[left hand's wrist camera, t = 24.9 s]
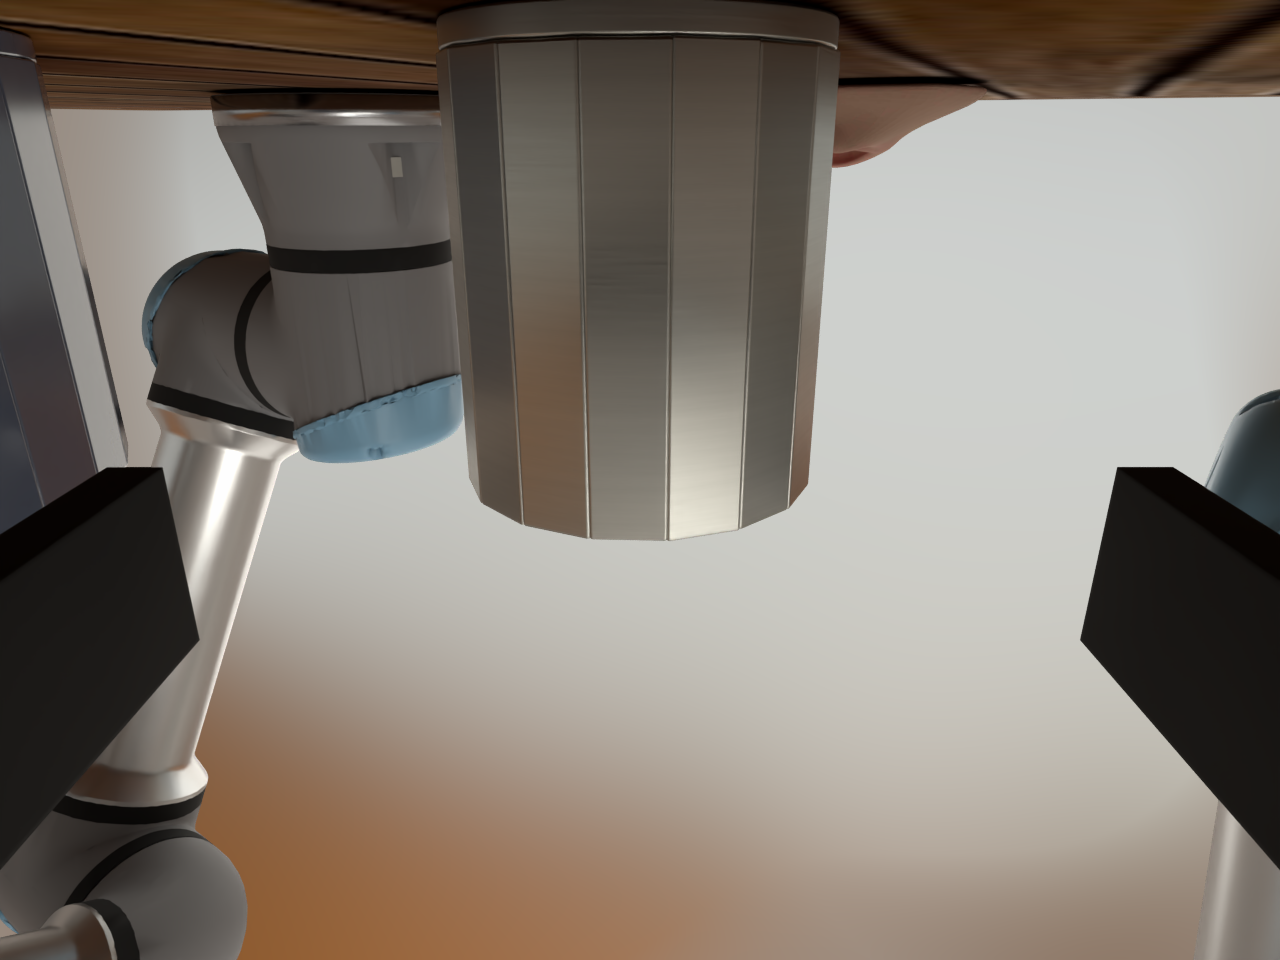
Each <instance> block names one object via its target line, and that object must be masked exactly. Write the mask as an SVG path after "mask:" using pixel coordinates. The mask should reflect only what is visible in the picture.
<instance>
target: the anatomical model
mask: <svg viewBox="0 0 1280 960" xmlns="http://www.w3.org/2000/svg"><path fill="white" fill-rule="evenodd" d="M986 91H987V90H986V89H985V88H983V87H977V86H969V85H957V84H864V85H838V91H837V104H836V118H835V131H834V144H833V158H832V168H838V167H846V166H850V165H854V164H858V163H860V162H863V161H866V160H868V159H871V158H873V157H875V156H877V155H879V154H881V153H883V152H885V151H887V150H888V149H890V148H891V147H892V146H893V145H895V144H896V143H897V142H898V141H899V140H900V139H901V138H902V137H904V136H905V135H907V134H908V133H910V132H911V131H913V130H915V129H917V128H919V127H921V126H923V125H925V124H927V123H929V122H932V121H934V120H936V119H939V118H941V117H943V116H946V115H948V114H950V113H953V112H955V111H957V110H960V109H962V108H964V107H967V106H969V105H971V104H972V103H974V102H976V101H977V100H979V99H980V98H982V97H983V96H984V95H985V93H986Z"/></svg>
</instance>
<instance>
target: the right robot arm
mask: <svg viewBox="0 0 1280 960" xmlns="http://www.w3.org/2000/svg"><path fill="white" fill-rule="evenodd" d="M210 101H211V107H212V113H213V119H214V125H215V126H216V129H217V132H218V135H219V137H220V139H221V141H222V143H223V145H224V148H225V150H226V152H227V154H228V156H229V158H230V160H231V162H232V164H233V166H234V168H235V170H236V172H237V174H238V176H239V178H240V180H241V182H242V184H243V186H244V188H245V190H246V192H247V194H248V196H249V198H250V200H251V202H252V204H253V206H254V209H255V210H256V213H257V215H258V217H259V219H260V221H261V223H262V226H263V229H264V233H265V239H266V243H267V244H266V245H267V251H268V254H266V253H264V252H262V251H257V250H249V249H230V250H224V251H208V252H203V253H199V254H196V255H193V256H191V257H189V258H186V259H184V260H182V261H180V262H178V263H177V264H175V265H174V266H173V267H171V268H170V269H169V270H168V271H167V272H166V273H165V274H163V276H162V277H161V278H160V279H159V280H158V281H157V283H156V284H155V286H154V287H153V289H152V290H151V292H150V294H149V296H148V298H147V301H146V304H145V307H144V311H143V317H142V335H143V340H144V344H145V347H146V348H147V349H148V351H149V353H150V356H151V360H152V362H153V364H154V365H155V367H156V371H155V374H154V378H153V381H152V384H151V388H150V391H149V394H148V398H147V403H146V404H147V406H148V408H149V409H150V411H151V412H152V414H153V415H154V417H155V418H156V420H157V422H158V423H159V425H160V429H161V436H160V439H159V442H158V445H157V449H156V452H155V455H154V459H153V462H152V465H151V467H163V471H164V476H165V480H166V485H167V490H168V494H169V499H170V504H171V508H172V513H173V518H174V522H175V527H176V532H177V536H178V541H179V546H180V550H181V555H182V560H183V564H184V569H185V574H186V578H187V583H188V587H189V592H190V597H191V601H192V606H193V611H194V615H195V620H196V625H197V629H198V634H199V639H200V640H199V642H198V643H197V644H196V645H195V646H194V647H193V648H192V650H191V651H190V652H189V653H188V654H187V655H186V657H185V658H184V659H183V660H182V661H181V662H180V663H179V665H178V666H177V667H176V668H175V669H174V670H173V672H172V673H171V674H170V675H169V676H168V677H167V678H166V680H165V681H164V682H163V683H162V684H161V685H160V687H159V688H158V689H157V690H156V691H155V692H154V693H153V695H152V696H151V697H150V698H149V699H148V700H147V702H146V703H145V704H144V705H143V706H142V707H141V708H140V710H139V711H138V712H137V713H136V714H135V715H134V717H133V718H132V719H131V720H130V721H129V722H128V723H127V725H126V726H125V727H124V728H123V729H122V730H121V732H120V733H119V734H118V735H117V736H116V737H115V738H114V740H113V741H112V742H111V743H110V744H109V745H108V747H107V748H106V749H105V750H104V751H103V752H102V753H101V755H100V756H99V757H98V758H97V759H96V760H95V762H94V763H93V764H92V765H91V766H90V767H89V768H88V770H87V771H86V772H85V773H84V774H83V775H82V777H81V778H80V779H79V780H78V781H77V782H76V783H75V785H74V786H73V787H72V788H71V789H70V790H69V792H68V793H67V794H66V795H65V796H64V797H63V798H62V800H61V801H60V802H59V803H58V804H57V805H56V807H55V808H54V809H53V810H52V811H51V812H50V813H49V815H48V816H47V817H46V818H45V819H44V820H43V822H42V823H41V824H40V825H39V826H38V827H37V828H36V830H35V831H34V832H33V833H32V834H31V835H30V837H29V838H28V839H27V840H26V841H25V842H24V843H23V845H22V846H21V847H20V848H19V849H18V850H17V851H16V853H15V854H14V855H13V856H12V857H11V858H10V860H9V861H8V862H7V863H6V864H5V865H4V866H3V868H2V869H1V870H0V919H1V920H2V921H3V923H4V924H5V925H7V926H8V927H9V928H10V929H11V930H12V931H14V932H16V933H18V934H15V935H10V936H6V937H1V938H0V960H237V958H238V955H239V953H240V950H241V947H242V943H243V939H244V935H245V931H246V923H247V900H246V894H245V889H244V885H243V883H242V880H241V878H240V875H239V873H238V871H237V870H236V868H235V867H234V865H233V864H232V862H231V861H230V859H229V858H228V857H227V856H226V855H224V854H223V853H222V852H221V851H220V850H219V849H218V848H217V847H215V846H214V845H213V844H212V843H210V842H209V841H208V840H207V839H206V838H204V837H203V836H202V835H201V834H199V833H198V832H197V831H196V830H195V823H196V819H197V816H198V812H199V809H200V806H201V802H202V798H203V795H204V792H205V788H206V785H207V781H208V775H207V772H206V770H205V769H204V767H203V766H202V765H201V763H200V762H199V761H198V759H197V758H196V756H195V754H194V753H195V749H196V746H197V742H198V739H199V736H200V732H201V729H202V726H203V722H204V719H205V716H206V712H207V709H208V706H209V702H210V699H211V695H212V692H213V689H214V685H215V682H216V679H217V675H218V672H219V669H220V665H221V662H222V658H223V655H224V652H225V648H226V645H227V642H228V638H229V635H230V632H231V628H232V625H233V622H234V618H235V615H236V612H237V608H238V605H239V601H240V598H241V595H242V591H243V588H244V584H245V581H246V578H247V575H248V571H249V568H250V564H251V561H252V558H253V554H254V551H255V548H256V544H257V541H258V538H259V534H260V531H261V527H262V524H263V521H264V518H265V514H266V511H267V507H268V504H269V501H270V497H271V494H272V491H273V487H274V484H275V481H276V477H277V474H278V471H279V467H280V464H281V462H282V461H283V460H284V459H285V458H287V457H289V456H290V455H292V454H294V453H296V452H298V451H300V452H301V454H302V455H303V456H304V457H306V458H308V459H310V460H313V461H317V462H325V463H352V462H363V461H371V460H378V459H383V458H389V457H394V456H399V455H403V454H407V453H411V452H414V451H417V450H421V449H424V448H427V447H429V446H432V445H434V444H437V443H439V442H441V441H443V440H445V439H446V438H448V437H450V436H451V435H452V434H453V433H454V432H455V431H456V430H457V429H458V428H459V426H460V425H461V422H462V420H463V415H464V405H463V392H462V380H461V367H460V354H459V342H458V329H457V317H456V304H455V291H454V279H453V266H452V254H451V241H450V228H449V216H448V203H447V191H446V178H445V165H444V153H443V140H442V128H441V115H440V102H439V95H420V94H381V93H244V94H220V95H212V96H210Z"/></svg>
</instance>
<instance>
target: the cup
mask: <svg viewBox="0 0 1280 960" xmlns="http://www.w3.org/2000/svg"><path fill="white" fill-rule="evenodd" d="M436 23H437V36H438V48H439V50H440V51H439V52H438V53H436V65H437V77H438V90H439V102H440V115H441V128H442V140H443V153H444V165H445V178H446V191H447V203H448V216H449V228H450V241H451V254H452V266H453V279H454V291H455V304H456V317H457V329H458V342H459V354H460V367H461V380H462V392H463V405H464V417H465V430H466V443H467V455H468V468H469V478H470V480H471V482H472V485H473V487H474V489H475V491H476V493H477V495H478V497H479V499H480V501H481V503H483V504H484V505H486V506H488V507H490V508H492V509H494V510H495V511H497V512H499V513H501V514H503V515H505V516H506V517H508V518H510V519H512V520H514V521H516V522H518V523H520V524H522V525H525V526H529V527H534V528H539V529H544V530H549V531H553V532H558V533H563V534H567V535H572V536H577V537H582V538H591V539H607V540H654V541H665V540H668V541H673V540H679V539H685V538H692V537H698V536H705V535H711V534H717V533H724V532H730V531H736V530H739V529H741V528H744V527H746V526H749V525H751V524H753V523H756V522H758V521H760V520H763V519H765V518H767V517H770V516H772V515H775V514H777V513H779V512H782V511H784V510H786V509H788V508H789V507H790V506H791V505H792V504H793V502H794V501H795V500H796V499H797V497H798V496H799V495H800V494H801V492H802V491H803V490H804V488H805V487H806V486H807V484H808V477H809V463H810V450H811V437H812V423H813V410H814V397H815V384H816V370H817V357H818V343H819V330H820V317H821V304H822V291H823V277H824V264H825V251H826V237H827V224H828V211H829V197H830V184H831V171H832V158H833V144H834V131H835V118H836V104H837V91H838V78H839V65H840V51H839V50H836V49H837V46H838V33H839V19H838V17H837V16H836V15H835V14H833V13H831V12H829V11H826V10H823V9H820V8H815V7H811V6H806V5H800V4H794V3H786V2H778V1H770V0H510V1H501V2H492V3H485V4H479V5H472V6H467V7H463V8H458V9H455V10H451V11H448V12H446V13H444V14H442V15H440V16H439V17H438V19H437V22H436Z"/></svg>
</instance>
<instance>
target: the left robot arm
mask: <svg viewBox="0 0 1280 960" xmlns="http://www.w3.org/2000/svg"><path fill="white" fill-rule="evenodd" d="M199 640H200V639H199V634H198V629H197V625H196V620H195V615H194V611H193V606H192V601H191V597H190V592H189V587H188V583H187V578H186V574H185V569H184V564H183V560H182V555H181V550H180V546H179V541H178V536H177V532H176V527H175V522H174V518H173V513H172V508H171V504H170V499H169V494H168V490H167V485H166V480H165V476H164V471H163V467H106V468H105V469H103V470H102V471H100V472H98V473H97V474H95V475H94V476H92V477H90V478H89V479H87V480H86V481H84V482H83V483H81V484H79V485H78V486H76V487H75V488H73V489H71V490H70V491H68V492H67V493H65V494H63V495H62V496H60V497H59V498H57V499H55V500H54V501H52V502H51V503H49V504H48V505H46V506H44V507H43V508H41V509H40V510H38V511H36V512H35V513H33V514H32V515H30V516H28V517H27V518H25V519H24V520H22V521H20V522H19V523H17V524H16V525H14V526H12V527H11V528H9V529H8V530H6V531H5V532H3V533H1V534H0V870H1V869H2V868H3V866H4V865H5V864H6V863H7V862H8V861H9V860H10V858H11V857H12V856H13V855H14V854H15V853H16V851H17V850H18V849H19V848H20V847H21V846H22V845H23V843H24V842H25V841H26V840H27V839H28V838H29V837H30V835H31V834H32V833H33V832H34V831H35V830H36V828H37V827H38V826H39V825H40V824H41V823H42V822H43V820H44V819H45V818H46V817H47V816H48V815H49V813H50V812H51V811H52V810H53V809H54V808H55V807H56V805H57V804H58V803H59V802H60V801H61V800H62V798H63V797H64V796H65V795H66V794H67V793H68V792H69V790H70V789H71V788H72V787H73V786H74V785H75V783H76V782H77V781H78V780H79V779H80V778H81V777H82V775H83V774H84V773H85V772H86V771H87V770H88V768H89V767H90V766H91V765H92V764H93V763H94V762H95V760H96V759H97V758H98V757H99V756H100V755H101V753H102V752H103V751H104V750H105V749H106V748H107V747H108V745H109V744H110V743H111V742H112V741H113V740H114V738H115V737H116V736H117V735H118V734H119V733H120V732H121V730H122V729H123V728H124V727H125V726H126V725H127V723H128V722H129V721H130V720H131V719H132V718H133V717H134V715H135V714H136V713H137V712H138V711H139V710H140V708H141V707H142V706H143V705H144V704H145V703H146V702H147V700H148V699H149V698H150V697H151V696H152V695H153V693H154V692H155V691H156V690H157V689H158V688H159V687H160V685H161V684H162V683H163V682H164V681H165V680H166V678H167V677H168V676H169V675H170V674H171V673H172V672H173V670H174V669H175V668H176V667H177V666H178V665H179V663H180V662H181V661H182V660H183V659H184V658H185V657H186V655H187V654H188V653H189V652H190V651H191V650H192V648H193V647H194V646H195V645H196V644H197V643H198V642H199ZM1080 640H1081V642H1082V643H1083V644H1084V645H1085V646H1086V647H1087V648H1088V650H1089V651H1090V652H1091V653H1092V654H1093V655H1094V657H1095V658H1096V659H1097V660H1098V661H1099V662H1100V663H1101V665H1102V666H1103V667H1104V668H1105V669H1106V670H1107V672H1108V673H1109V674H1110V675H1111V676H1112V677H1113V678H1114V680H1115V681H1116V682H1117V683H1118V684H1119V685H1120V687H1121V688H1122V689H1123V690H1124V691H1125V692H1126V693H1127V695H1128V696H1129V697H1130V698H1131V699H1132V700H1133V702H1134V703H1135V704H1136V705H1137V706H1138V707H1139V708H1140V710H1141V711H1142V712H1143V713H1144V714H1145V715H1146V717H1147V718H1148V719H1149V720H1150V721H1151V722H1152V723H1153V725H1154V726H1155V727H1156V728H1157V729H1158V730H1159V732H1160V733H1161V734H1162V735H1163V736H1164V737H1165V738H1166V740H1167V741H1168V742H1169V743H1170V744H1171V745H1172V747H1173V748H1174V749H1175V750H1176V751H1177V752H1178V753H1179V755H1180V756H1181V757H1182V758H1183V759H1184V760H1185V762H1186V763H1187V764H1188V765H1189V766H1190V767H1191V768H1192V770H1193V771H1194V772H1195V773H1196V774H1197V775H1198V776H1199V778H1200V779H1201V780H1202V781H1203V782H1204V783H1205V785H1206V786H1207V787H1208V788H1209V789H1210V790H1211V791H1212V793H1213V794H1214V795H1215V796H1216V797H1217V798H1218V807H1217V813H1216V819H1215V826H1214V832H1213V838H1212V845H1211V851H1210V857H1209V864H1208V870H1207V877H1206V883H1205V889H1204V896H1203V902H1202V908H1201V915H1200V921H1199V928H1198V934H1197V940H1196V947H1195V953H1194V959H1193V960H1280V389H1279V390H1274V391H1270V392H1267V393H1265V394H1262V395H1260V396H1258V397H1256V398H1254V399H1253V400H1251V401H1250V402H1248V403H1247V404H1246V405H1245V406H1244V407H1243V408H1241V409H1240V411H1239V412H1238V413H1237V414H1236V415H1235V417H1234V418H1233V420H1232V422H1231V424H1230V426H1229V428H1228V430H1227V432H1226V434H1225V437H1224V439H1223V441H1222V444H1221V446H1220V448H1219V451H1218V453H1217V456H1216V458H1215V461H1214V463H1213V466H1212V468H1211V471H1210V473H1209V476H1208V478H1207V481H1206V483H1205V486H1202V485H1201V484H1199V483H1197V482H1196V481H1194V480H1193V479H1191V478H1190V477H1188V476H1186V475H1185V474H1183V473H1182V472H1180V471H1178V470H1177V469H1175V468H1174V467H1117V471H1116V476H1115V481H1114V485H1113V490H1112V494H1111V499H1110V504H1109V508H1108V513H1107V518H1106V522H1105V527H1104V532H1103V536H1102V541H1101V546H1100V550H1099V555H1098V560H1097V565H1096V569H1095V574H1094V578H1093V583H1092V587H1091V592H1090V597H1089V602H1088V606H1087V611H1086V615H1085V620H1084V625H1083V629H1082V634H1081V639H1080Z"/></svg>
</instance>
